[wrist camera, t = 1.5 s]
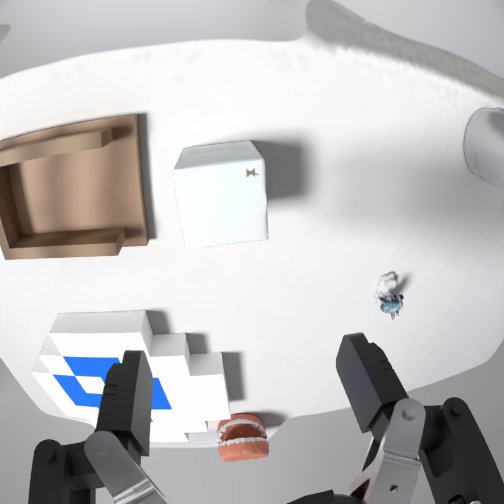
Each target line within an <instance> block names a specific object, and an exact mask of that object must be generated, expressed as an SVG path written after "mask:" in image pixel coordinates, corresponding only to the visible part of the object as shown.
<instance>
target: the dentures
mask: <svg viewBox="0 0 504 504" xmlns="http://www.w3.org/2000/svg"><path fill="white" fill-rule="evenodd" d="M260 437H261V438H260ZM266 439H267V434H266V431H265V427H264V426H263V423H262V421H261V420H260V419H259V418H258V417H256V416H254V415H251V414H235V415H231V419H225V420H221V421H220V423H219V424H218V430H217V440H218V443H219V446H218V451H219V454H220V456H221V458H222V460H223V461H224V462H231V461H241V460H249V459H257V458H263V457H267V456H268V453H269V445H268V441H266Z"/></svg>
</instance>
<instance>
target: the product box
mask: <svg viewBox="0 0 504 504" xmlns="http://www.w3.org/2000/svg"><path fill="white" fill-rule="evenodd" d="M173 177H174V184H175V191H176V197H177V204H178V210H179V215H180V221H181V226H182V232H183V236H184V241H185V245H186V249H195V248H203V247H212V246H220V245H227V244H235V243H243V242H252V241H260V240H267V239H268V220H267V196H266V173H265V160H264V159H263V157H262V156H261V154H260V153H259V152H258V150H257V149H256V148H255V146H254V145H253V144H252V142H251V141H241V142H231V143H221V144H212V145H204V146H197V147H190V148H184V149H183V150H182V152H181V154H180V157H179V159H178V161H177V163H176V165H175V168H174V170H173Z"/></svg>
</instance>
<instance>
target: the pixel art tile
mask: <svg viewBox="0 0 504 504" xmlns="http://www.w3.org/2000/svg"><path fill="white" fill-rule="evenodd" d="M49 334H50V336H47V338H46V340H45V342H44V344H43V347H42V349H41V351H40V354H39V355H38V358H37V360H36V362H35V365H34V367H33V370H32V373H33V375H34V376H35V377H36V379H37V380H38V381H39V383H40V384H41V385H42V387H43V388H44V389H45V390H46V392H47V393H48V394H49V395H50V397H51V398H52V399H53V400H54V401H55V403H56V404H57V405H58V406H59V407H60V409H61V410H62V411H63V412H64V413H65V414H66V415H67V416H72V417H81V418H86V419H87V420H88V421H89V422H90V423H91V424H92V425H93V426H94V428H95V429H96V424H97V418H98V413H99V408H100V402H101V397H102V395H103V388H104V386H105V385H104V383H105V379H106V374H107V372H108V370H109V369H110V368H111V366H112V365H113V363H122V360H123V355H124V352H125V350H144V352H145V354H146V357H147V360H148V363H149V366H150V369H151V372H152V375H153V398H152V410H151V425H150V442H188V432H208V421H212V420H225V419H231V415H230V406H229V397H228V391H227V385H226V379H225V373H224V366H223V360H222V353H221V352H213V353H200V354H190V350H189V346H188V342H187V338H186V334H185V333H173V334H154V335H153V332H152V329H151V326H150V323H149V320H148V317H147V314H146V310H134V311H113V312H87V313H59V314H58V316H57V318H56V320H55V322H54V324H53V326H52V328H51V330H50V332H49Z"/></svg>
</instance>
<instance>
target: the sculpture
mask: <svg viewBox="0 0 504 504" xmlns="http://www.w3.org/2000/svg"><path fill="white" fill-rule="evenodd" d="M394 276H395V275H394V273H393V272H389V273H387V274H384V275H382V276H381V277H380V279H379V281H378V285H377V287H378V288H377V292H376V293H375V295H373V296H374V297H375V298H376V302H375V303H377V302H378V303H382V304H381V307H380V309H381V310H382V311H383V312H385V313H391V317H392V319H393V320H394V317H395V312H396V313H397V316H399V314H398V313H399V311H402V310H403V302H402V299H403V298H404V297H403V295H401V294H400V295H398V298H397V296H396V295H394V296H392V294H391V293H392V290H393V289H394V288H395V285H397V281H396V280H395V279H394ZM390 296H391V297H392V298H391V297H390ZM387 299H388V300H387Z"/></svg>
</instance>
